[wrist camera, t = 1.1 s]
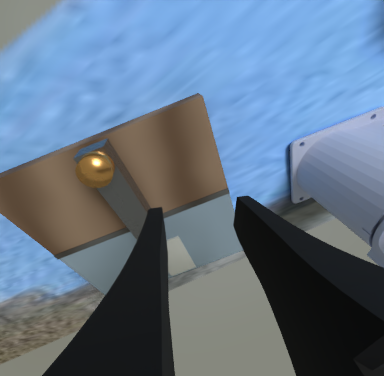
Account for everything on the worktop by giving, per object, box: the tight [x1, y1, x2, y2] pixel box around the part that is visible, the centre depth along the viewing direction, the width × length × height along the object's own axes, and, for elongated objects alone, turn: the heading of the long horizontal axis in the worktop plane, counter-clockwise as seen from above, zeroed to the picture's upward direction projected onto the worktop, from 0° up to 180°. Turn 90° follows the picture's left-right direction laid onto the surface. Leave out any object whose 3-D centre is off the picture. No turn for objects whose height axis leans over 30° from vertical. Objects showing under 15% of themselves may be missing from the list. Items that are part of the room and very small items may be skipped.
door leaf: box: [60, 194, 243, 295], centre depth 22 cm, size 18×10×2 cm, turn 109°
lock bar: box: [73, 138, 166, 239], centre depth 15 cm, size 10×2×3 cm, turn 19°
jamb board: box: [0, 93, 229, 259], centre depth 17 cm, size 18×9×2 cm, turn 109°
